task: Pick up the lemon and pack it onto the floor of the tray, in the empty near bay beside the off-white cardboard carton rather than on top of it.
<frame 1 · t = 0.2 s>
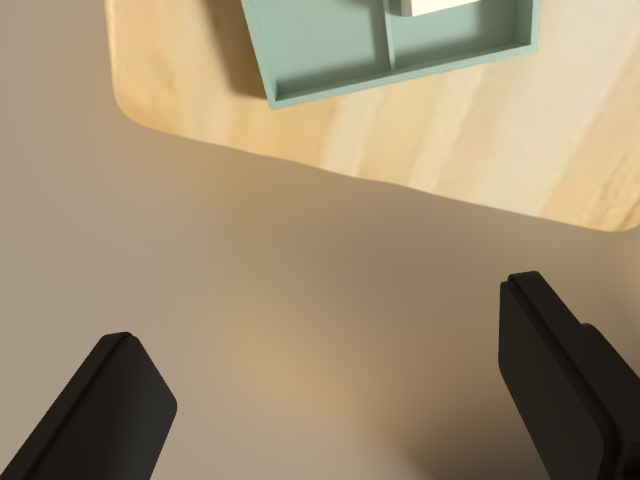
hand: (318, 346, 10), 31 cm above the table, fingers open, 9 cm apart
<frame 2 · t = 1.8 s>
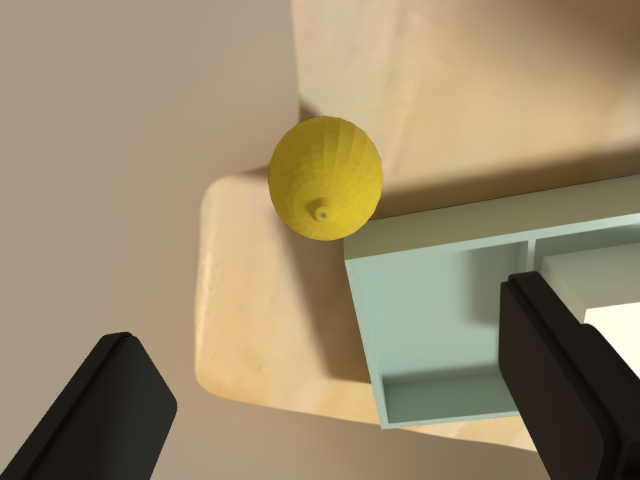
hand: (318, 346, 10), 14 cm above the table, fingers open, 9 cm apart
lemon: (327, 150, 22), on the table
tray: (515, 295, 27), on the table
carton: (600, 289, 26), point 1 cm above the table, touching tray
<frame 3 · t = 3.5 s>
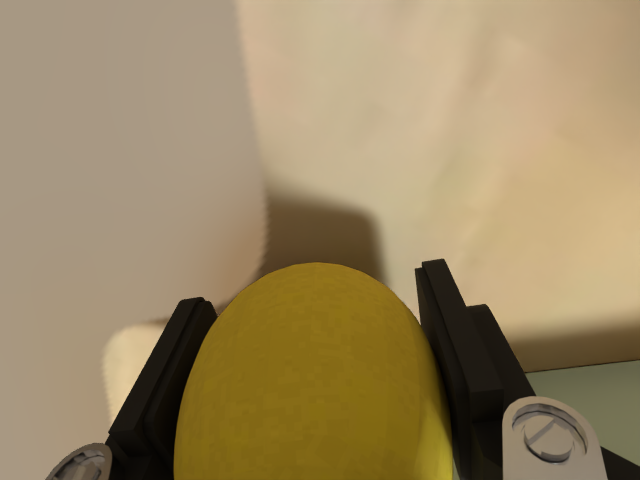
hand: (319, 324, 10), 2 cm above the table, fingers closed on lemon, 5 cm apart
lemon: (321, 285, 12), on the table, touching gripper
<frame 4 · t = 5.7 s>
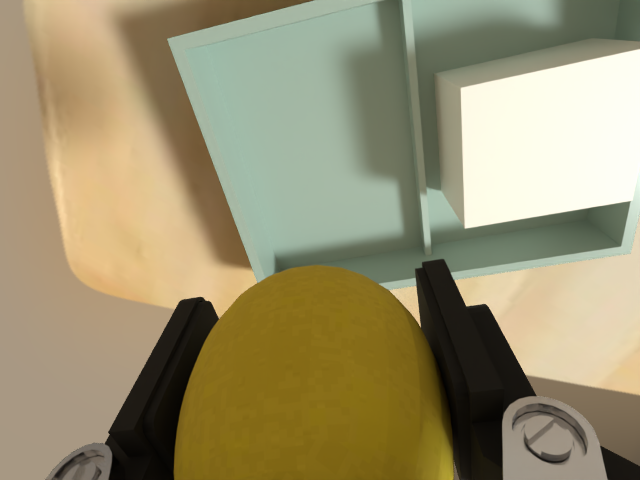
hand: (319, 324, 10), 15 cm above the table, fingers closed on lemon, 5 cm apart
lemon: (321, 287, 12), point 13 cm above the table, touching gripper
tray: (413, 138, 23), on the table
carton: (508, 122, 22), point 1 cm above the table, touching tray
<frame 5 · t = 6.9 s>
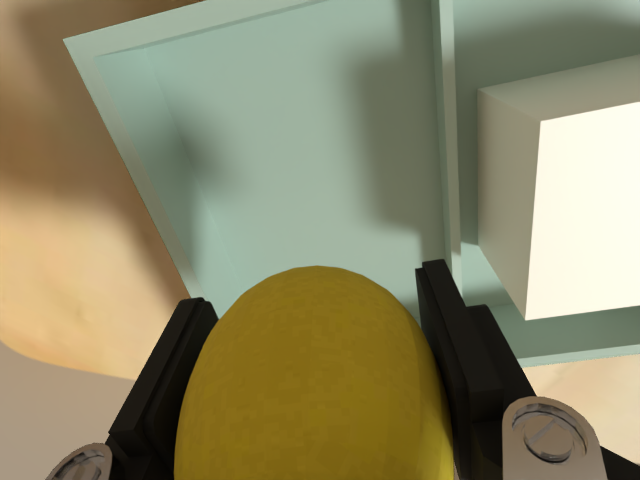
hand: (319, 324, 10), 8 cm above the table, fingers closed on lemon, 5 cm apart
lemon: (321, 288, 12), point 6 cm above the table, touching gripper
tray: (442, 176, 16), on the table
carton: (579, 157, 15), point 1 cm above the table, touching tray
when the fingers open (4 cm above the table, at t = 8.0 s): lemon drops 2 cm, resting on tray.
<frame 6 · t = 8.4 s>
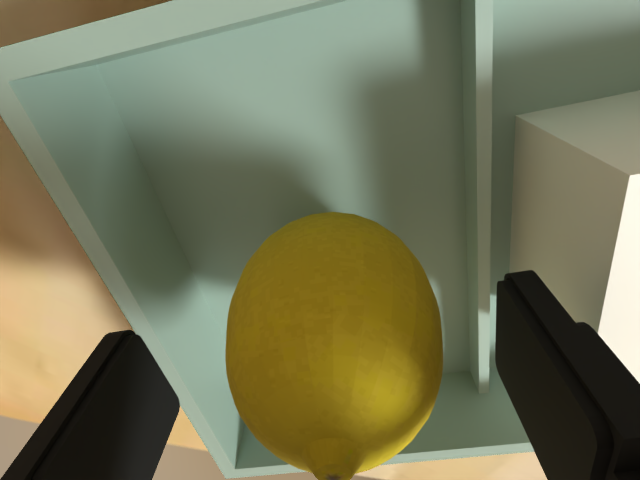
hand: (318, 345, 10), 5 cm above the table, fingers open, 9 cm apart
lemon: (332, 242, 14), resting on tray
tray: (466, 217, 14), on the table
carton: (638, 197, 12), point 1 cm above the table, touching tray
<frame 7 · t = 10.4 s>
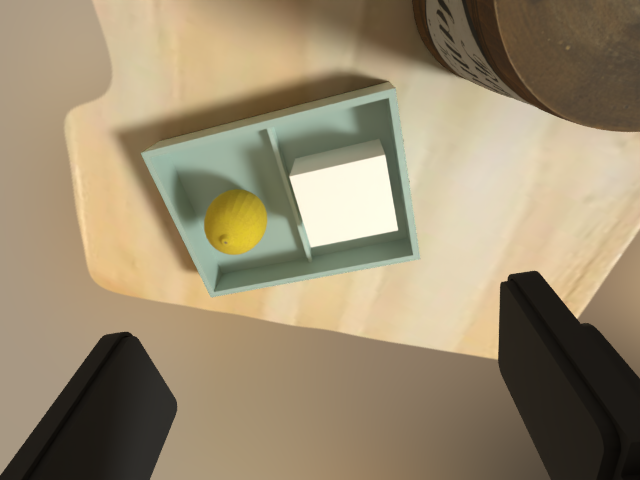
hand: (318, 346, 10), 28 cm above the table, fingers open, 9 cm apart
lemon: (246, 202, 38), resting on tray
tray: (293, 192, 38), on the table
carton: (344, 183, 37), point 1 cm above the table, touching tray
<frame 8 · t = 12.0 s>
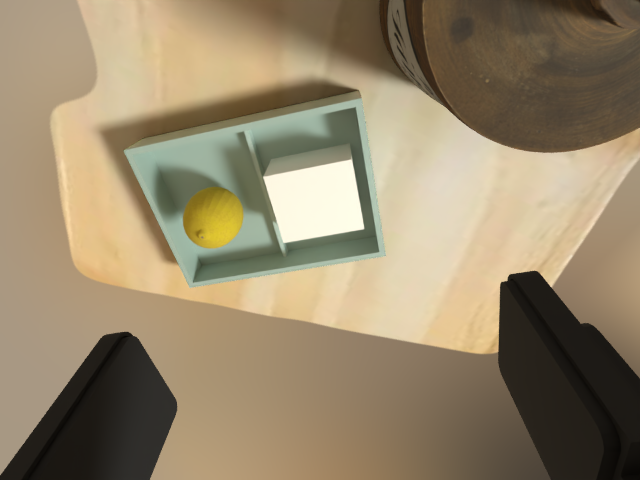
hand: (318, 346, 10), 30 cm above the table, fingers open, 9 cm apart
lemon: (224, 199, 41), resting on tray
tray: (269, 190, 40), on the table
carton: (317, 183, 39), point 1 cm above the table, touching tray
wooden container: (467, 0, 31), on the table
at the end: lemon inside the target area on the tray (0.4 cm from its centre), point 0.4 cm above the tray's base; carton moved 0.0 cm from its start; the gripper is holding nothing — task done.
